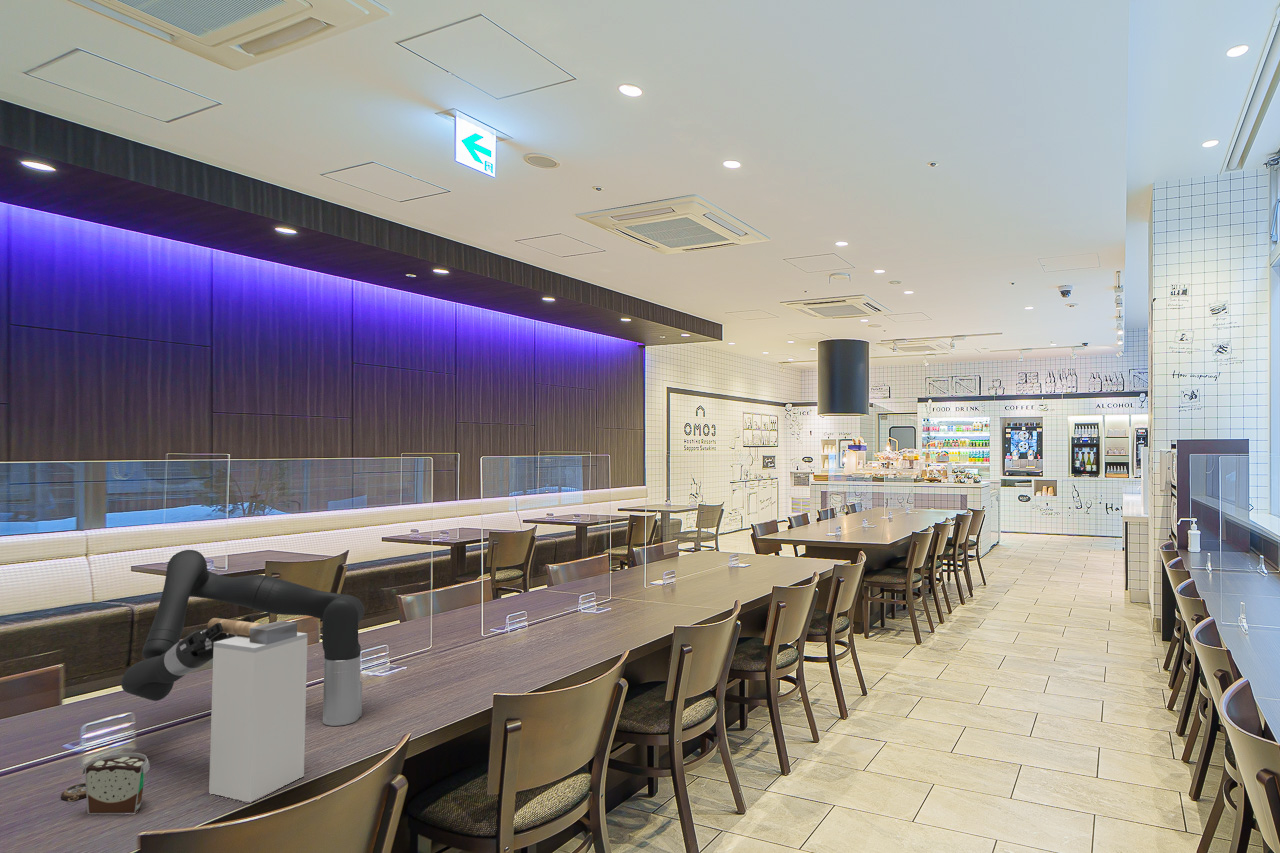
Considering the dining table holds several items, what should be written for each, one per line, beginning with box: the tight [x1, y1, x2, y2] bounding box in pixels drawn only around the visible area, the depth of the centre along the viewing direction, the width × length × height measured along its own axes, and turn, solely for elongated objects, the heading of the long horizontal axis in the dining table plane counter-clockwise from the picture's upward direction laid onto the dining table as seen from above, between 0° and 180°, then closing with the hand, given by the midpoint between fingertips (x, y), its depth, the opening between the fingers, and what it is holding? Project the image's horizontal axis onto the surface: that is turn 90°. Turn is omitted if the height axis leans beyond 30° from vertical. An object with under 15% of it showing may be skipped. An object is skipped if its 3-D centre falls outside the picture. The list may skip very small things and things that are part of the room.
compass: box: [60, 756, 102, 802], centre depth 157 cm, size 8×8×7 cm
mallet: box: [207, 617, 298, 645], centre depth 165 cm, size 21×8×3 cm, turn 68°
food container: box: [81, 752, 150, 815], centre depth 152 cm, size 12×6×10 cm, turn 92°
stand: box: [208, 631, 309, 802], centre depth 163 cm, size 14×12×32 cm
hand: (236, 623), depth 166 cm, fingers open, 7 cm apart
